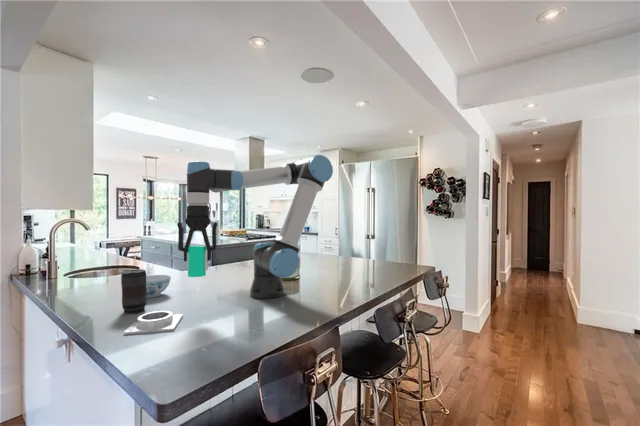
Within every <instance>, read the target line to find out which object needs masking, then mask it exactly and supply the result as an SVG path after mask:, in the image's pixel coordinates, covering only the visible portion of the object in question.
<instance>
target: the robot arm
mask: <svg viewBox="0 0 640 426" xmlns="http://www.w3.org/2000/svg"><path fill="white" fill-rule="evenodd" d="M186 168H187V169H186V204H188V205H187V206H186V218H185V220H184V221H181V222H177V224H176V225H177V228H178V239H177V241H178V242H177V243H178V244H177V249H178V251H180V252H182V253H183V261H184V262H186V272H188V271H189V253H188V247H189V246H191V244H192V240H193V237H194V233H195V232H201V235H202V237H203V241H204V244H205V245H204V246H206V252H205V271H206V272H207V271H208V270H209V262H210V261H211V260H212V252H213V251H216V250H217V247H218V246H217V227H218V225H219V223H218V222H215V221H212V220H211V218H210V206H209V205H210V192H211V193H214V194H215V193H221V192H228V191H240V190H241V189H248V188H257V187H265V186H273V185H279V184H285V185H287V186H289V185H298V186H297V189H296V192H295V193H294V197H293V198H292V201H291V204H290V207H289V209H288V211H287V213H286V217H285V220H284V222H283V225H282V227H281V229H280V232H279V235H278V237H276V238H273V240H272V242H263V243H256V244H255V245H253V246H254V247H253V280H252V283H251V286H250V288H249V289H250V290H249V293H250V295H249V296H250V297H251V298H253V299H262V300H264V299H274V298H275V299H276V298H280V297H282V296H284V295H285V287H284V283H283V280H282V278H288V277H291V276H292V275H294V274H295V273H296V272H297V270H298V269H299V266H300V261H301V260H300V258H299V257H300V256H299V253H300V246H299V242H300V240H301V237H302V234H303V232H304V228H305V226H306V224H307V220H308V218H309V215H310V212H311V210H312V207H313V204H314V202H315V199H316V197H317V193H319V192H321V191H322V190H323V188H324V185H325V182H328V181H329V180H330V179H331V178H332V176H333V174H334V170H333V165H332V162H331V160H330V159H329V158H328V157H327V156H325V155H322V154H314V155H312V156H309V157H306V158H303V159H300V160H296V161H294V162H290V163H284V164H282V166H275V167H266V168H257V169H247V170H235V169H223V168H222V169H218V168H212V167H211V165H210V163H209V162H207V161H204V160H202V161H201V160H192V161H189V162H188V163H187V167H186ZM209 225H210V228H211V244H212V246H211V244H210V239H209V235H208V232H207V231H208V230H207V227H209ZM186 226H187V227H188V228H189V230H188V234H187V238H186V241H185V244H184V239H185V238H184V237H185V235H184V233H185V227H186Z"/></svg>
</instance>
